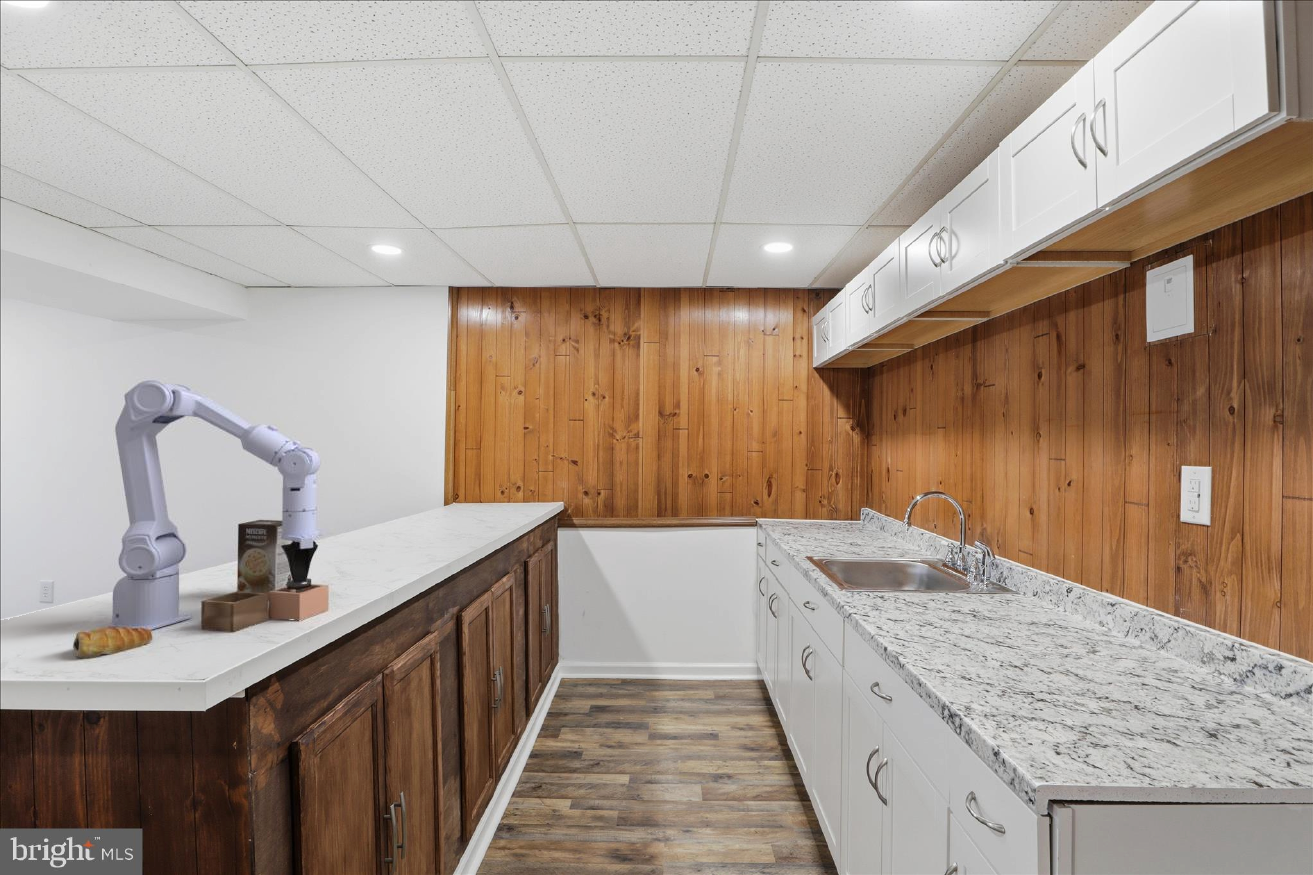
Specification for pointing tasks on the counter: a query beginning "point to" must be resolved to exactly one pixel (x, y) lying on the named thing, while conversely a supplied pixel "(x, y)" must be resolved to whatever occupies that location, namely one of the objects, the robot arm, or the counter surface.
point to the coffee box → (262, 557)
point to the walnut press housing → (234, 611)
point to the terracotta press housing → (298, 602)
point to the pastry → (109, 641)
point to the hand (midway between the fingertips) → (299, 580)
